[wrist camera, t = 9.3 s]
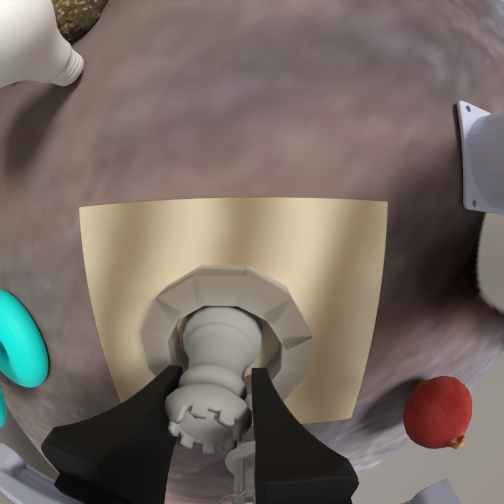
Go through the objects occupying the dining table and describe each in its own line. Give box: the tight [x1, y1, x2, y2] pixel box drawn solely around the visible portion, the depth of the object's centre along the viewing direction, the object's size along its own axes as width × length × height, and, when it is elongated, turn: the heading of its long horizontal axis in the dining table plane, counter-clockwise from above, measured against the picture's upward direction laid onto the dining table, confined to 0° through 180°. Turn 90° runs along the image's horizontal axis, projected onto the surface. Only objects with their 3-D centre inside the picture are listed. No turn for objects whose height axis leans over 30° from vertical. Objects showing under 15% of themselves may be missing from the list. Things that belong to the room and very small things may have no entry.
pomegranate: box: [403, 376, 472, 449], centre depth 14 cm, size 6×6×8 cm
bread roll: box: [51, 0, 108, 42], centre depth 9 cm, size 13×12×5 cm
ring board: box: [79, 197, 388, 426], centre depth 15 cm, size 18×16×3 cm
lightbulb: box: [0, 0, 84, 87], centre depth 7 cm, size 6×6×11 cm
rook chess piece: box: [164, 306, 263, 455], centre depth 11 cm, size 4×4×8 cm
